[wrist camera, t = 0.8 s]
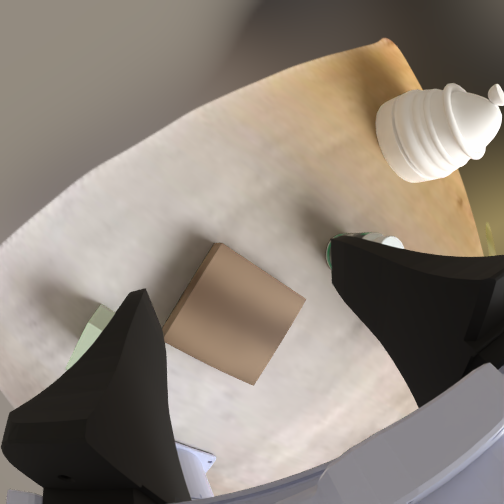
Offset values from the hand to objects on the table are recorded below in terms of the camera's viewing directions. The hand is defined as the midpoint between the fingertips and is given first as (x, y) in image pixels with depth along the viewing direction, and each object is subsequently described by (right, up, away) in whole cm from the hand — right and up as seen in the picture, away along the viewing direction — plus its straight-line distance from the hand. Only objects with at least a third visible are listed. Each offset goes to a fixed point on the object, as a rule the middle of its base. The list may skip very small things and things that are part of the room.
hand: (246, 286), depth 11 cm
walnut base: (-2, -5, +19) cm, 19 cm away
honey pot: (+23, +18, +27) cm, 40 cm away
